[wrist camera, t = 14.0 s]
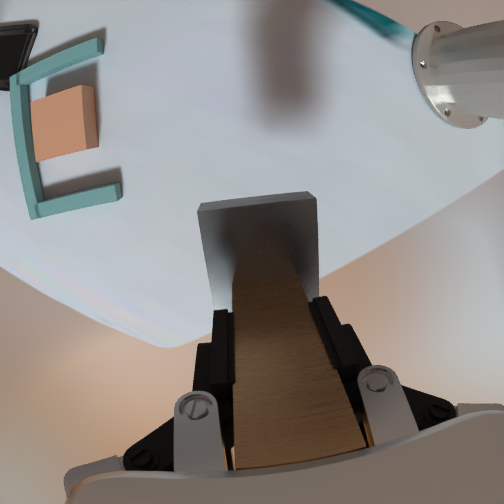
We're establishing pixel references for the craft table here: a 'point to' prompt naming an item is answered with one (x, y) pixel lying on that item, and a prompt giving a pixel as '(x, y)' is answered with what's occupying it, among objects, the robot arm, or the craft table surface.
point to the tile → (64, 123)
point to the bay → (25, 138)
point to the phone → (15, 50)
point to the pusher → (276, 331)
